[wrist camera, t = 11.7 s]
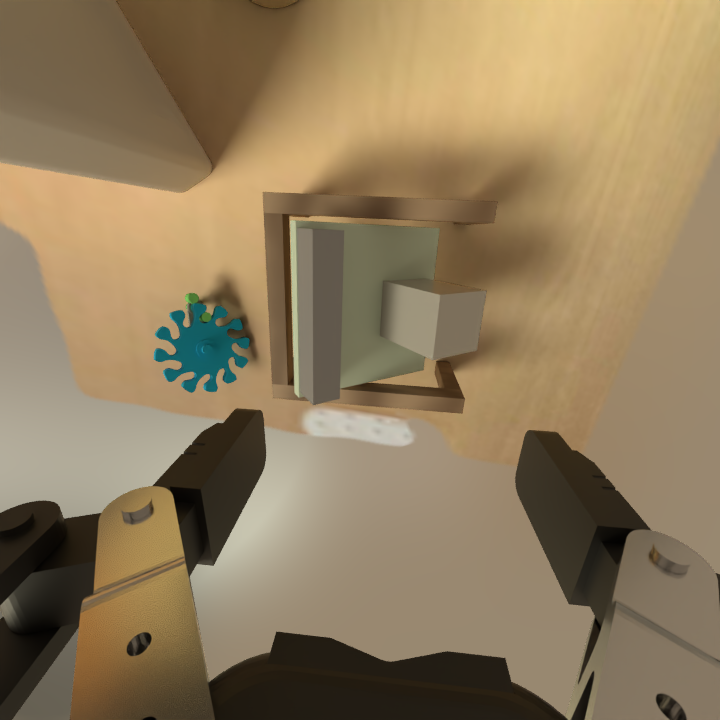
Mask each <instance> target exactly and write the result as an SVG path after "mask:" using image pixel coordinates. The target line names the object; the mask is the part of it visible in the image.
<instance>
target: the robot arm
mask: <svg viewBox="0 0 720 720" xmlns="http://www.w3.org/2000/svg"><path fill="white" fill-rule="evenodd" d="M251 1H252V2H254V3H256V4H258V5H261V6H263V7H269V8H280V7H286V6H288V5H290V4H293V3H295V2H296V1H298V0H251ZM265 461H266V444H265V432H264V418H263V413H262V411H261V410H252V409H238V408H237V409H235V410H234V411H233V412H232V413H231V415H230V416H229V417H228V418H227V419H226V420H225V422H224V423H216V424H215V425H213V426H212V427H210V428H208V429H206V430H204V431H203V432H202V433H201V434H200V435H199V436H198V437H197V438H196V439H195V440H194V441H193V443H192V445H190V446H189V447H188V448H187V449H186V450H185V451H184V454H181V456H180V457H179V458H178V459H177V460H176V461H175V462H174V463H173V464H172V465H171V466H170V467H169V469H168V470H167V471H166V472H165V473H164V474H163V475H162V476H161V477H160V478H159V479H158V481H157V482H156V483H155V484H154V485H153V486H149V487H143V488H139V489H135V490H132V491H130V492H128V493H125V494H123V495H121V496H120V497H118V498H117V499H115V500H114V501H112V502H111V503H110V504H109V505H108V506H107V507H106V508H105V509H104V510H103V512H102V513H99V514H92V515H85V516H79V517H72V518H66V519H64V518H63V515H62V512H61V510H60V507H59V506H58V504H56V503H55V502H51V501H35V502H29V503H25V504H22V505H18V506H16V507H13V508H10V509H8V510H6V511H4V512H2V513H0V611H1V613H2V615H3V617H2V618H1V619H0V720H12V719H13V718H14V716H15V715H16V713H17V712H18V710H19V709H20V708H21V706H22V705H23V704H24V702H25V701H26V699H27V698H28V697H29V695H30V694H31V693H32V691H33V690H34V688H35V687H36V686H37V684H38V683H39V681H40V680H41V679H42V677H43V676H44V675H45V673H46V672H47V670H48V669H49V667H50V666H51V665H52V663H53V662H54V661H55V659H56V658H57V656H58V655H59V654H60V652H61V651H62V650H63V648H64V647H65V645H66V644H67V643H68V641H69V640H70V638H71V637H72V636H73V634H74V633H75V632H76V630H77V629H78V627H79V631H78V641H77V652H76V661H75V672H74V682H73V692H72V702H71V712H70V720H720V574H717V573H715V571H714V570H713V569H712V567H711V566H710V565H709V563H708V562H707V561H706V560H705V559H704V558H703V557H702V556H701V555H699V554H698V553H697V552H696V551H694V550H693V549H691V548H690V547H689V546H687V545H685V544H684V543H682V542H680V541H678V540H676V539H674V538H672V537H670V536H668V535H665V534H662V533H659V532H656V531H652V530H650V528H649V527H648V526H647V525H646V523H645V522H644V521H643V520H642V519H641V517H640V516H639V515H638V514H637V513H636V512H635V510H634V509H633V508H632V507H631V506H630V504H629V503H628V502H627V501H626V500H625V499H624V497H623V496H622V495H621V494H620V493H619V492H618V491H616V490H615V487H614V486H613V485H612V483H611V482H610V481H609V480H608V479H606V478H605V475H604V474H603V473H602V472H601V470H600V469H599V468H598V467H597V466H596V465H595V463H594V462H592V461H591V460H589V459H588V458H586V457H585V456H584V455H582V454H581V453H579V452H578V451H574V450H571V448H570V447H569V446H568V445H567V443H566V442H565V441H564V440H563V438H562V437H561V436H560V435H559V434H558V433H557V432H549V431H535V430H529V431H527V432H526V434H525V437H524V441H523V445H522V449H521V454H520V458H519V462H518V466H517V471H516V477H515V479H516V480H515V483H516V489H517V493H518V496H519V498H520V500H521V502H522V505H523V507H524V509H525V511H526V513H527V515H528V518H529V520H530V522H531V524H532V526H533V528H534V530H535V533H536V535H537V537H538V539H539V541H540V543H541V545H542V548H543V550H544V552H545V554H546V556H547V558H548V560H549V562H550V564H551V567H552V569H553V571H554V573H555V575H556V578H557V580H558V582H559V584H560V586H561V588H562V590H563V593H564V595H565V597H566V599H567V601H568V603H569V604H573V605H582V606H590V607H591V609H592V611H593V613H594V615H595V617H594V619H593V621H592V624H591V627H590V630H589V634H588V637H587V641H586V645H585V649H584V652H583V656H582V659H581V663H580V667H579V671H578V674H577V678H576V682H575V685H574V689H573V693H572V696H571V700H570V703H569V706H568V709H567V712H566V714H565V716H563V715H562V714H561V713H560V712H558V711H557V710H556V709H555V708H554V707H552V706H551V705H550V704H549V703H547V702H546V701H544V700H543V699H541V698H540V697H539V696H537V695H535V694H534V693H532V692H531V691H529V690H527V689H525V688H523V687H521V686H519V685H518V684H515V683H513V682H511V679H510V675H509V671H508V668H507V663H506V660H505V658H500V657H491V656H482V655H474V654H465V653H456V652H448V651H447V652H442V653H436V654H431V655H426V656H420V657H415V658H410V659H405V660H399V661H394V662H388V661H383V660H380V659H378V658H376V657H374V656H371V655H369V654H367V653H364V652H362V651H360V650H357V649H355V648H353V647H350V646H348V645H346V644H344V643H341V642H339V641H336V640H334V639H332V638H326V637H318V636H308V635H300V634H292V633H283V632H276V635H275V639H274V642H273V645H272V649H271V652H270V653H265V654H261V655H258V656H255V657H252V658H249V659H246V660H244V661H242V662H240V663H238V664H236V665H234V666H232V667H231V668H229V669H227V670H226V671H224V672H222V673H221V674H219V675H218V676H217V677H215V678H214V679H213V680H211V681H210V679H209V674H208V669H207V664H206V659H205V654H204V649H203V644H202V639H201V634H200V628H199V624H198V618H197V613H196V608H195V602H194V597H193V592H192V587H191V582H190V575H191V573H192V571H193V570H194V568H195V566H196V565H197V564H202V565H212V566H213V565H214V564H215V562H216V560H217V558H218V556H219V554H220V552H221V550H222V548H223V546H224V545H225V543H226V541H227V539H228V537H229V535H230V533H231V531H232V529H233V528H234V526H235V524H236V521H237V520H238V518H239V516H240V514H241V512H242V510H243V508H244V507H245V505H246V503H247V501H248V499H249V497H250V495H251V493H252V491H253V489H254V488H255V485H256V484H257V482H258V480H259V478H260V476H261V474H262V472H263V469H264V466H265Z"/></svg>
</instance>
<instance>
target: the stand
mask: <svg viewBox="0 0 720 720" xmlns="http://www.w3.org/2000/svg"><path fill="white" fill-rule="evenodd" d="M497 203H498V202H495V201H470V200H446V199H421V198H396V197H372V196H347V195H323V194H298V193H274V192H263V208H264V228H265V249H266V269H267V289H268V310H269V330H270V351H271V371H272V391H273V398H276V399H288V400H300V401H309V400H308V399H306V398H305V397H300V398H299V397H298V396H297V395H296V394H295V391H294V357H293V347H292V308H291V269H290V229H289V216H293V217H309V216H331V217H353V218H376V219H398V220H420V221H443V222H454V224H466V225H471V224H488V223H494V221H495V215H496V209H497ZM435 376H436V379H437V383H438V386H439V388H432V387H419V386H405V385H392V384H379V383H363V384H358V385H354V386H349V387H345V388H340V399H337V400H332V401H328V402H325V403H338V404H350V405H363V406H375V407H388V408H400V409H413V410H425V411H438V412H450V413H463V407H464V401H465V398H464V396H463V394H462V391H461V389H460V387H459V384H458V382H457V379H456V377H455V375H454V372H453V370H452V368H451V365H450V363H449V362H438V361H436V367H435Z"/></svg>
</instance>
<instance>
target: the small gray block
mask: <svg viewBox="0 0 720 720" xmlns="http://www.w3.org/2000/svg"><path fill="white" fill-rule="evenodd" d="M485 298H486V290H481V289H476V288H471V287H466V286H462V285H457V284H452V283H447V282H442V281H437V280H432V279H427V278H423V279H406V280H389V281H383V289H382V306H381V323H380V336H381V337H383V338H385V339H388V340H390V341H392V342H394V343H396V344H398V345H401V346H403V347H405V348H407V349H409V350H411V351H414V352H416V353H418V354H420V355H422V356H424V357H427V358H429V359H431V360H436V359H441V358H445V357H450V356H454V355H459V354H463V353H468V352H473V351H477V346H478V340H479V334H480V328H481V322H482V316H483V310H484V304H485Z"/></svg>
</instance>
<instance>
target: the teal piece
mask: <svg viewBox="0 0 720 720" xmlns="http://www.w3.org/2000/svg"><path fill="white" fill-rule="evenodd" d="M185 300H186V301H187V302H188V304H187V305H186V309H187V313H188V319H189V326H190V327H187V328H186V327H184V326H183V320H184V318H185V313H184V312H183V311H182V310H178V311H174V312H172V313H170V318H171V319H172V320H173V321H174V322H175V323H176V324H177V326H178V328H179V332H180V336H179V338H178V339H172V337H171V334H170V330H169V329H168V328H166V327H163V326H162V327H160V328H159V329H158V330H157V332H156V333H155V336H156V337H157V338H159V339H163V340H167V341H169V342H170V343H172V344H173V345H174V347H175V348H176V353H175V354H174V355H169V354H168V353H167V352H166V351H165V350H163V349H160V348H157V349H156V350H155V352H154V360H156V361H158V362H163V361H165V360H176V361H179V362H181V363H182V367H181V368H180V369H179V370H174V369H171V368H167V369H165V370H164V371H163V374H164V376H165V378H166V379H167V381H169V382H172V381H174V380H175V379H176V378H177V377H178V376H180V375H181V374H183V373H186V372H194V374H195V375H194V378H192V379H190V380H185V381H184V382H183V383H182V384H181V386H182V387H183V388H184V389H185V390H187V391H189V392H191V393H192V392H194V391H195V389H196V385H197V383H198V381H199V380H200V378H202V377H203V376H204V375H205V374H210V379H209V380H208V381H207V382H206V383H205V384H204V387H203V388H204V390H206V391H208V392H216V391H217V388H218V387H217V384H216V376H217V373H218V371H219V370H220V369H222V368H224V370H225V373H224V375H223V381H224V382H226V383H227V384H228V383H231V382H233V381H235V380H236V375H235V374H233V373H232V372H231V370H230V368H229V364H228V360H229V358H231V357H234V359H235V364H236V366H238V367H240V368H243V367H244V366H245V365H246V364H247V362H248V359H247V358H245V357H242V356H238V355H237V354H236V353H235V352H234V351H233V350H232V344H233V343H237V344H238V346H239V347H241V348H244V349H247V348H248V347H249V338H246V337H241V338H237V339H234V338H231V337H229V336H228V335H227V331H228V329H230V328H231V329H234V330H241V329H242V328H243V326H242V323H241V321H240V319H233V320H232V321H231V322H230V323H229V324H227V325H225V326H219V327H218V326H217V325H216V324H215V321H216V319H218V318H223V317H226V316H227V314H228V312H227V311H226V310H225V309H224V308H223V307H221V306H216V307H215V308H214V312H213V315H212V316H211V315H210V314H209V313H207V312H205V311H206V306H205V305H203V303H202V302H200V301H198V300H199V297H198V295H197V294H195V293H189V294H187V295H186V296H185Z"/></svg>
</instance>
